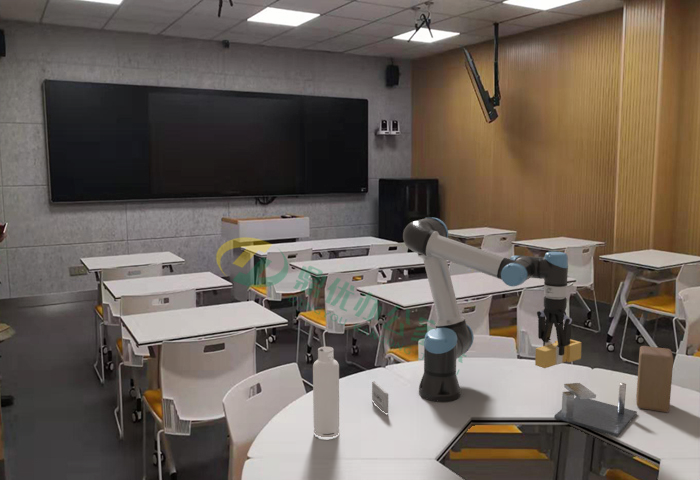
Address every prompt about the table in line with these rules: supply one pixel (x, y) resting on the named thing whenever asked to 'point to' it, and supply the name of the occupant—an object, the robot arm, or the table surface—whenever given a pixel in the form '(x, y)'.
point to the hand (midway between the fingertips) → (553, 361)
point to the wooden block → (654, 378)
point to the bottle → (326, 393)
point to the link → (548, 354)
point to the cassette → (380, 397)
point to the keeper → (568, 397)
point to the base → (601, 414)
